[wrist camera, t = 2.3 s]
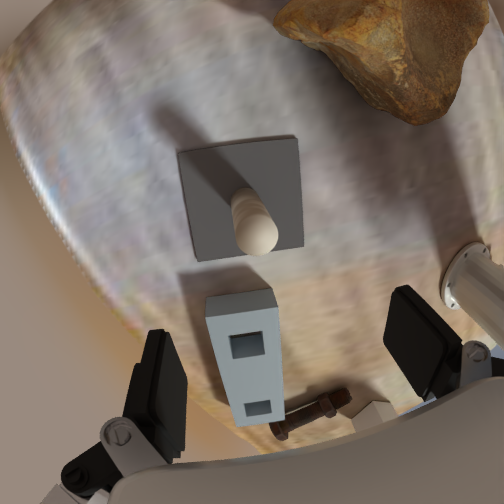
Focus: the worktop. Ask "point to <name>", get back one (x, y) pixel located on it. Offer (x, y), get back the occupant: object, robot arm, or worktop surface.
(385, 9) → the rough brown rock
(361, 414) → the milk carton
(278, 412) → the hole block
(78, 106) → the worktop surface
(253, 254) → the peg
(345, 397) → the bolt
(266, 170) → the mat
